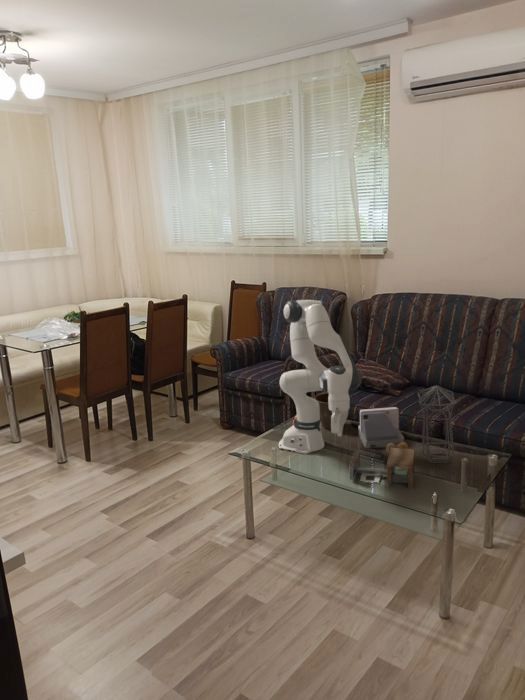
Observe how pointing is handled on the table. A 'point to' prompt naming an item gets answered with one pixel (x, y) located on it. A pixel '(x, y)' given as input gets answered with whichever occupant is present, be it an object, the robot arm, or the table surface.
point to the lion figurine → (396, 446)
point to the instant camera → (380, 427)
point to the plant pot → (324, 410)
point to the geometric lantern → (441, 390)
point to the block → (401, 471)
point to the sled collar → (373, 471)
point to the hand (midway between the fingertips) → (340, 435)
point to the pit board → (370, 477)
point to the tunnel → (400, 462)
